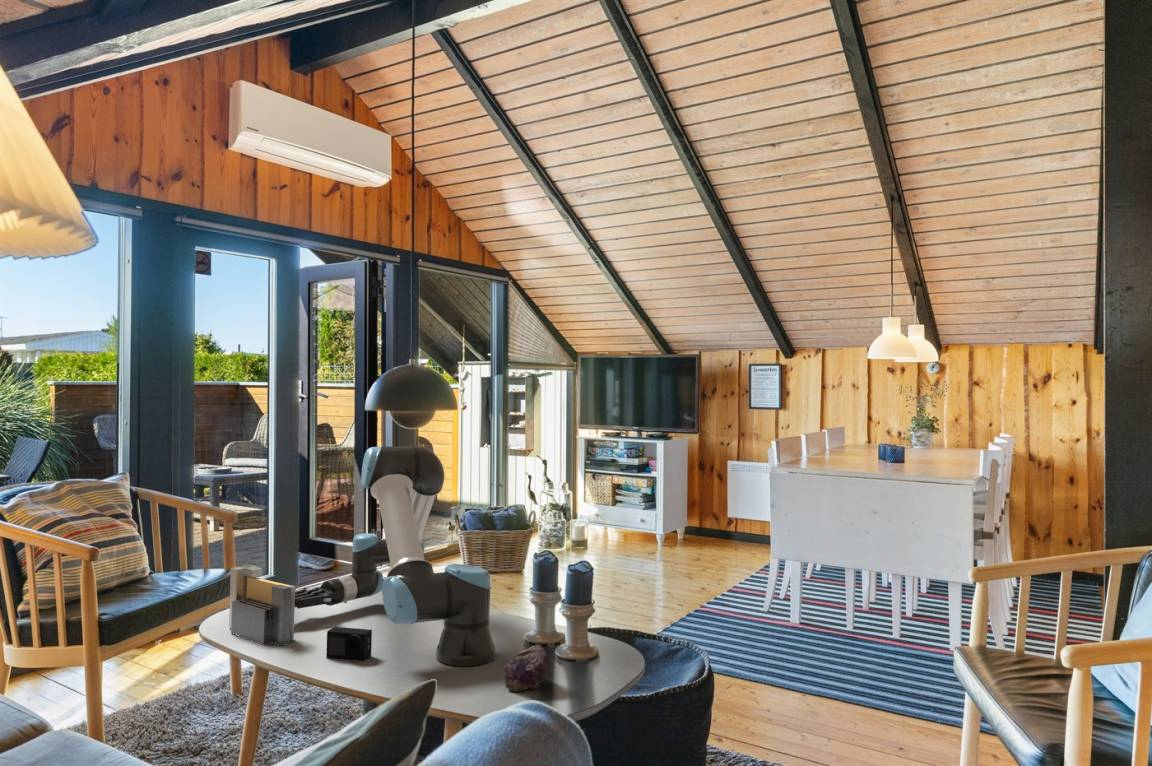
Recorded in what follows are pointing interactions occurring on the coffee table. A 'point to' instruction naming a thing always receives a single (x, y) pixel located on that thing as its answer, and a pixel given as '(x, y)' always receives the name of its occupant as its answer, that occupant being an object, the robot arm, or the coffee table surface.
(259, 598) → the orange wooden board
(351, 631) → the digital camera
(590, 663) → the coffee table surface
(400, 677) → the coffee table surface
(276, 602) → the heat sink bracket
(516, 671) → the rock
